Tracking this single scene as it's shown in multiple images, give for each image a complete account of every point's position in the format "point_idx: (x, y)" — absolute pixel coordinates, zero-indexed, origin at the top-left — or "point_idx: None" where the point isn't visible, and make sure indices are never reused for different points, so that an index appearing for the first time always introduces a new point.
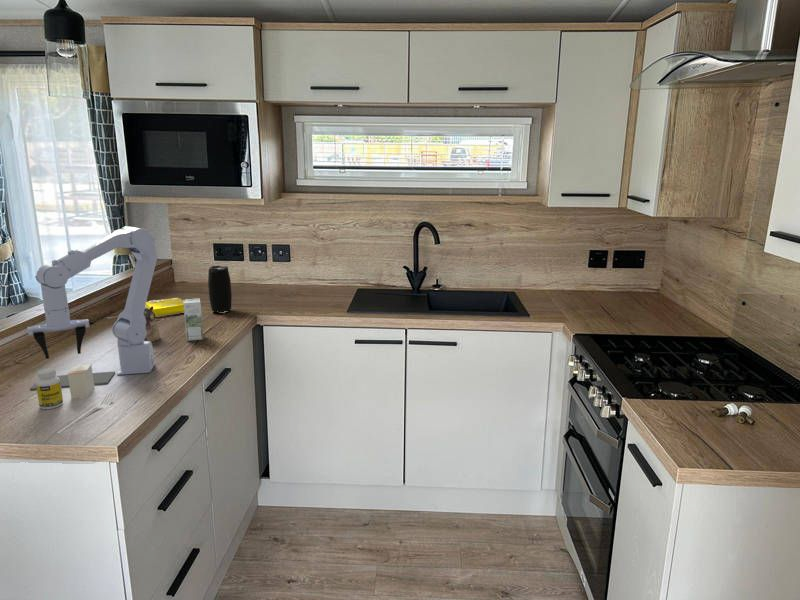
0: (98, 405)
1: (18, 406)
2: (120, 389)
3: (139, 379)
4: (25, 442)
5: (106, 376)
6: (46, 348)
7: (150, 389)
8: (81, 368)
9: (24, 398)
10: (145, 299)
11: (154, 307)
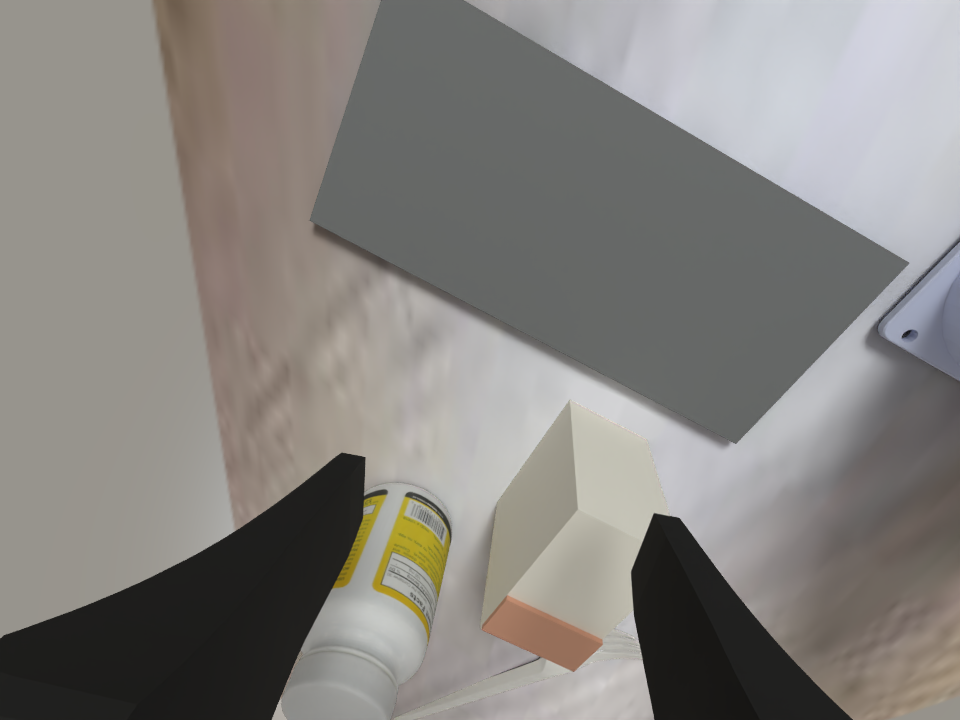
0: None
1: (267, 432)
2: (738, 550)
3: (914, 490)
4: None
5: (792, 336)
6: (301, 642)
7: (844, 638)
8: (590, 588)
9: (287, 342)
10: None
11: None
